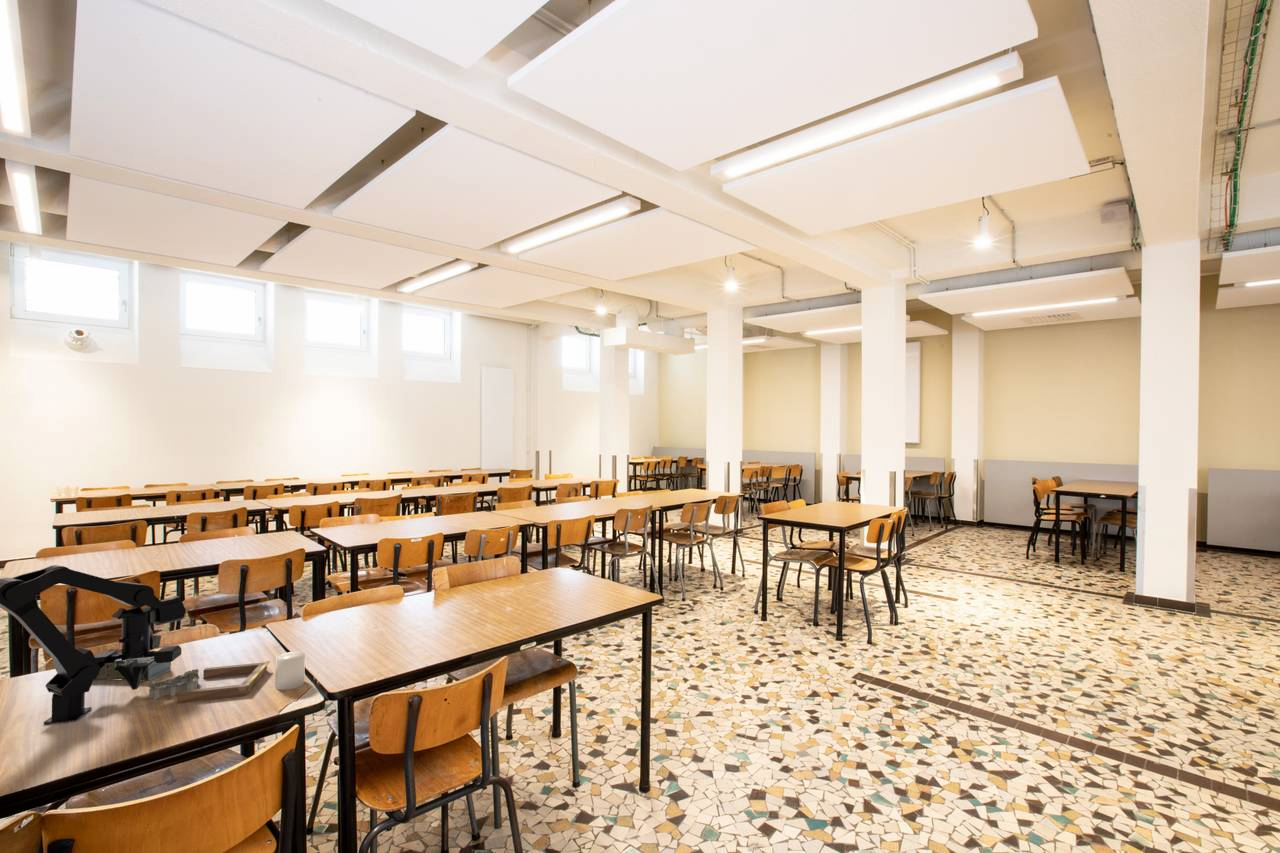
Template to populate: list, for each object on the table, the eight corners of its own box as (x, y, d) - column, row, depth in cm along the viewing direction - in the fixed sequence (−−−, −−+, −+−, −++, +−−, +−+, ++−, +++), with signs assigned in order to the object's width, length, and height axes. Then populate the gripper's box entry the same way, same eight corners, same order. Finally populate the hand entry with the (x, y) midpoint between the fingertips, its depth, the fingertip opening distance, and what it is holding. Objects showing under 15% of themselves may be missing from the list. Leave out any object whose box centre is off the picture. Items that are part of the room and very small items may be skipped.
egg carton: (200, 682, 163) (200, 667, 163) (196, 692, 156) (196, 677, 157) (151, 690, 157) (152, 675, 157) (145, 701, 151) (146, 685, 151)
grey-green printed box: (147, 682, 163) (147, 659, 163) (83, 680, 164) (84, 657, 164) (172, 670, 170) (172, 648, 171) (111, 669, 172) (111, 647, 172)
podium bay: (248, 695, 154) (248, 684, 154) (176, 703, 150) (176, 692, 150) (269, 670, 171) (269, 660, 171) (205, 676, 166) (205, 666, 166)
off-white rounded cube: (300, 688, 159) (300, 659, 159) (271, 691, 157) (271, 662, 157) (307, 678, 165) (307, 650, 165) (279, 680, 163) (280, 652, 163)
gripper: (190, 618, 165) (190, 672, 165) (111, 624, 159) (110, 680, 159) (171, 631, 154) (170, 689, 154) (86, 638, 149) (85, 698, 149)
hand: (135, 689), depth 154 cm, fingers closed
